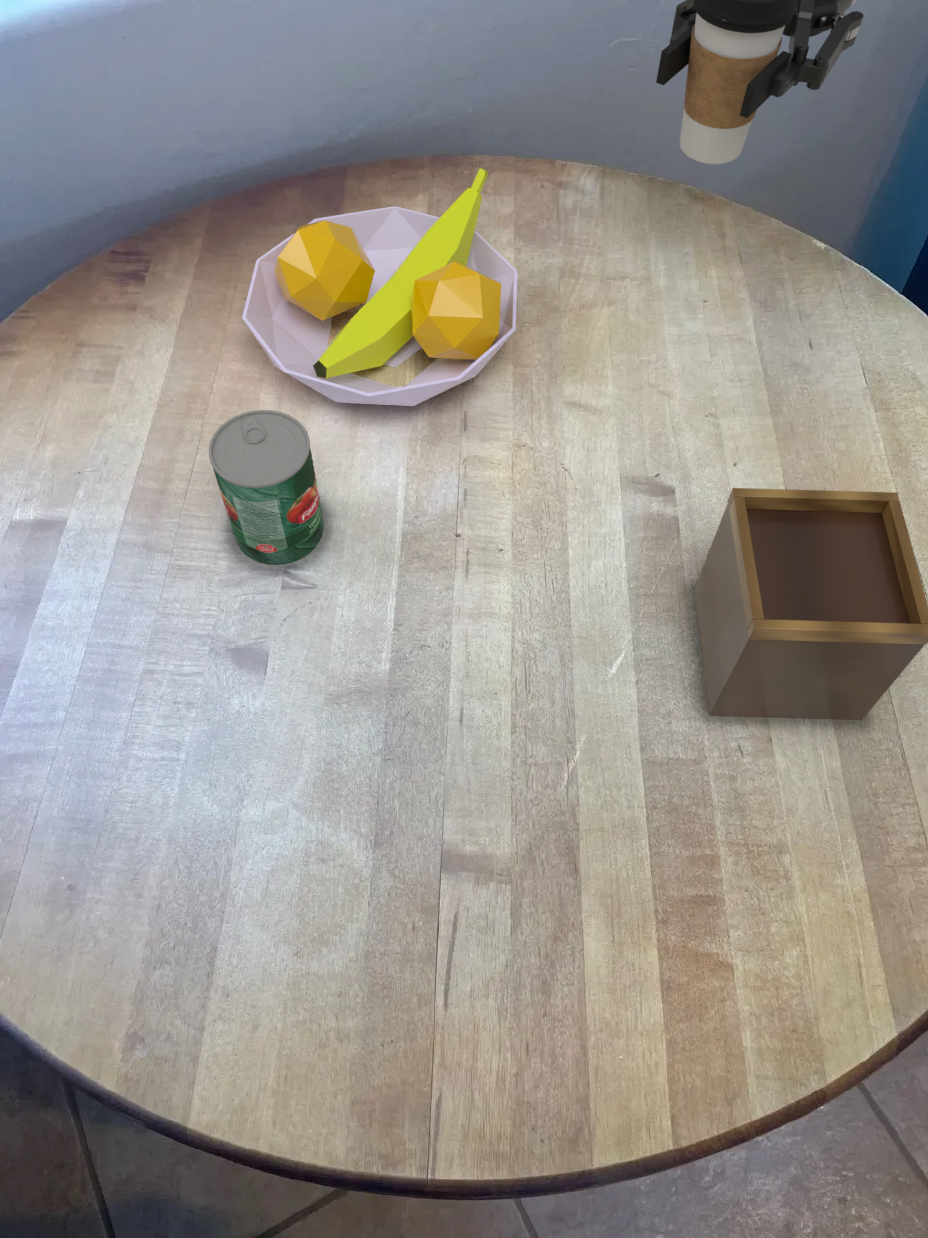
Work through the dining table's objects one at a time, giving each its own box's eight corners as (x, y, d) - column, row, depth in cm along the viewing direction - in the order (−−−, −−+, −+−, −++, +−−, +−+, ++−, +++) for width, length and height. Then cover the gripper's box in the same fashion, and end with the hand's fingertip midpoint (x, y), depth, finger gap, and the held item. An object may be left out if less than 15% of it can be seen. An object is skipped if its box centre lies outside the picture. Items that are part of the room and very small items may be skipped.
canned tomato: (337, 551, 84) (323, 467, 74) (249, 579, 82) (223, 497, 72) (309, 485, 87) (292, 398, 78) (224, 511, 86) (197, 425, 76)
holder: (834, 593, 82) (897, 492, 70) (862, 722, 75) (936, 633, 64) (692, 589, 82) (732, 487, 70) (708, 717, 76) (754, 628, 64)
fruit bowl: (340, 480, 88) (327, 390, 78) (211, 309, 99) (186, 213, 90) (585, 363, 96) (600, 268, 86) (440, 218, 108) (439, 121, 98)
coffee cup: (753, 123, 93) (800, -50, 81) (756, 176, 89) (807, 1, 76) (666, 117, 94) (699, -56, 81) (665, 168, 89) (700, -6, 77)
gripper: (905, 55, 92) (799, 168, 82) (717, -11, 99) (597, 87, 89) (939, -31, 86) (828, 80, 76) (735, -96, 92) (609, -1, 82)
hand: (704, 84), depth 82 cm, fingers closed on coffee cup, 8 cm apart
